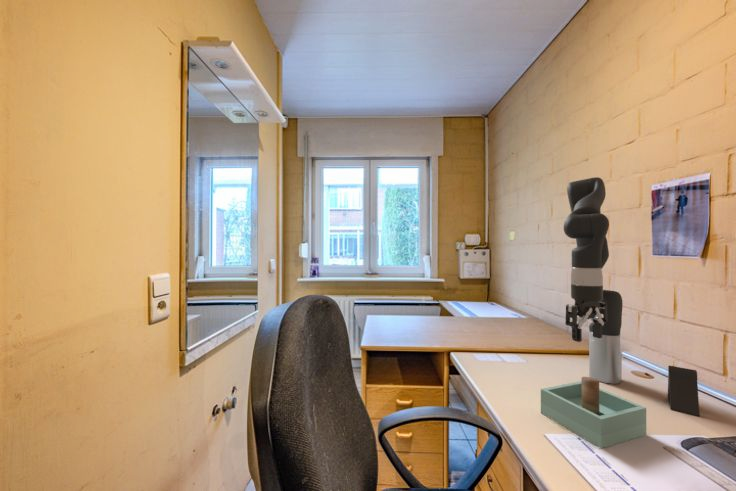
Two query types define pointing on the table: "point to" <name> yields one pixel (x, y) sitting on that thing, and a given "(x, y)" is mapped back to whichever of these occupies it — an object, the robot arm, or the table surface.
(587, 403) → the walnut peg
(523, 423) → the table surface
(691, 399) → the phone stand
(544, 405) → the bore box
